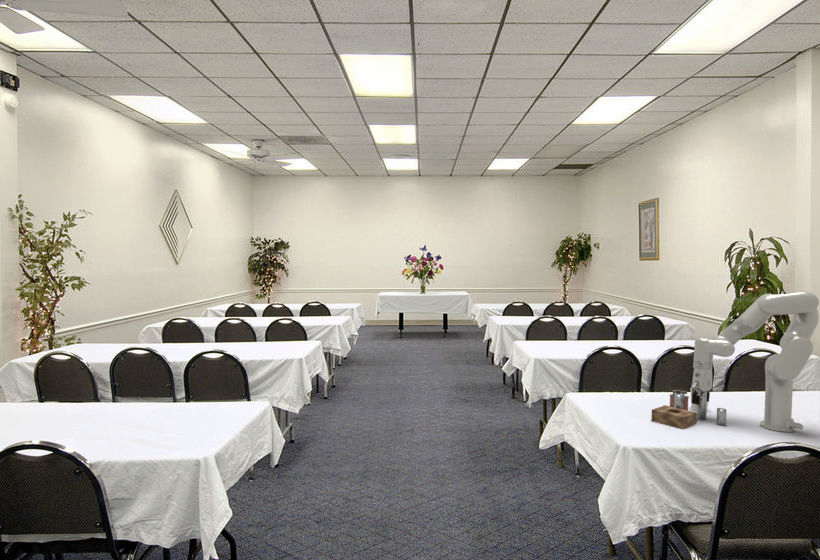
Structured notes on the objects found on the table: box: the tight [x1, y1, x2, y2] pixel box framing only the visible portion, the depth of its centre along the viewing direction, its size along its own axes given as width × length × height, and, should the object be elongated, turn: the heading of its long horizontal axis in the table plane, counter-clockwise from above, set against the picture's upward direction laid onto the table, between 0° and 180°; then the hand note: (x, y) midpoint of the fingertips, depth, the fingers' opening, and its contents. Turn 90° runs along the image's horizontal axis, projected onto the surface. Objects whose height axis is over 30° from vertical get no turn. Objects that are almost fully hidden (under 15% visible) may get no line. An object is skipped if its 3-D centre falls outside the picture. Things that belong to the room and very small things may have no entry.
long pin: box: [696, 391, 707, 421], centre depth 234 cm, size 4×4×14 cm
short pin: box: [716, 407, 727, 427], centre depth 226 cm, size 4×4×7 cm
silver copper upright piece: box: [669, 389, 690, 411], centre depth 246 cm, size 8×3×10 cm, turn 62°
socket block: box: [650, 404, 698, 430], centre depth 229 cm, size 14×12×5 cm
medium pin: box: [674, 393, 683, 409], centre depth 237 cm, size 4×4×10 cm
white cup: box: [690, 387, 709, 413], centre depth 248 cm, size 8×8×10 cm
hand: (700, 402), depth 234 cm, fingers open, 9 cm apart
